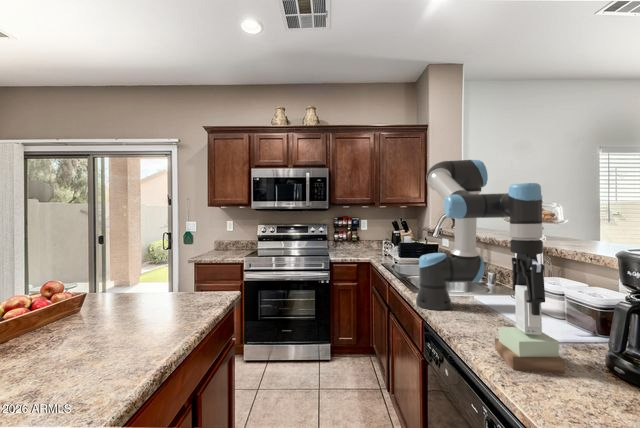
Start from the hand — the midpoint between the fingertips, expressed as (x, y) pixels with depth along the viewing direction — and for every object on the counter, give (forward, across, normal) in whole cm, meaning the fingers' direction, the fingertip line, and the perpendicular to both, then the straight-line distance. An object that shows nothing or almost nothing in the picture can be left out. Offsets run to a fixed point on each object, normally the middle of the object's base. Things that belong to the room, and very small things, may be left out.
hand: (528, 321), depth 84 cm
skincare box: (+3, 0, 0) cm, 3 cm away
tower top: (+7, 0, 0) cm, 7 cm away
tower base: (+11, 0, 0) cm, 11 cm away
